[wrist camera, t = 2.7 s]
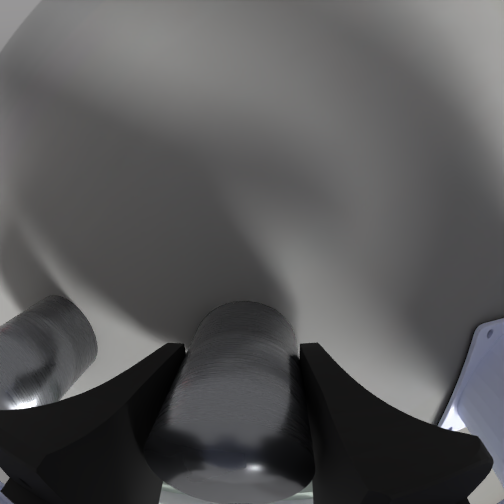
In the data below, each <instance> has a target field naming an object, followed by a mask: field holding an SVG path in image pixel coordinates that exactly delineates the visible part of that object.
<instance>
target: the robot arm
mask: <svg viewBox="0 0 504 504" xmlns="http://www.w3.org/2000/svg"><path fill="white" fill-rule="evenodd" d="M185 355H186V352H185V347H184V344H180V343H167V344H165V345H164V346H162V347H161V348H159V349H158V350H156V351H155V352H153V353H152V354H150V355H149V356H147V357H146V358H144V359H143V360H141V361H140V362H138V363H137V364H135V365H134V366H132V367H131V368H129V369H128V370H126V371H124V372H123V373H121V374H119V375H118V376H116V377H114V378H113V379H111V380H109V381H107V382H105V383H104V384H102V385H100V386H97V387H95V388H93V389H91V390H89V391H86V392H84V393H81V394H79V395H76V396H73V397H70V398H67V399H64V400H61V401H58V402H54V403H50V404H46V405H41V406H36V407H30V408H22V409H9V410H0V467H1V468H2V470H3V471H4V472H5V473H6V474H7V475H8V476H9V477H10V478H9V480H8V481H7V483H6V484H3V483H2V482H1V481H0V504H159V500H160V494H161V489H162V484H163V480H161V479H160V478H159V477H158V476H157V475H156V474H155V473H154V472H153V471H152V470H151V469H150V467H149V466H148V464H147V462H146V460H145V457H144V446H145V443H146V441H147V439H148V436H149V434H150V432H151V430H152V427H153V425H154V423H155V421H156V419H157V416H158V414H159V412H160V410H161V408H162V405H163V403H164V401H165V399H166V397H167V394H168V392H169V390H170V388H171V386H172V384H173V381H174V379H175V377H176V375H177V373H178V371H179V368H180V366H181V364H182V362H183V360H184V358H185ZM299 361H300V367H301V373H302V379H303V385H304V391H305V398H306V404H307V411H308V418H309V424H310V431H311V438H312V445H313V453H314V460H315V468H316V469H315V475H314V477H313V479H312V488H313V504H470V503H469V501H468V499H467V497H468V496H469V495H470V494H471V493H472V492H473V491H474V490H475V489H476V488H477V486H478V485H479V484H480V483H481V482H482V481H483V480H484V479H485V478H486V476H487V475H488V474H489V472H490V471H491V469H493V470H494V472H495V474H496V475H497V477H498V479H499V481H500V482H501V484H502V486H503V488H504V318H502V319H498V320H494V321H491V322H487V323H483V324H481V325H479V326H478V327H477V329H476V330H475V332H474V335H473V339H472V342H471V345H470V349H469V352H468V355H467V358H466V360H465V363H464V366H463V369H462V372H461V374H460V377H459V379H458V382H457V384H456V387H455V389H454V392H453V394H452V396H451V399H450V401H449V403H448V405H447V407H446V410H445V412H444V414H443V416H442V418H441V420H440V422H439V424H438V426H435V425H432V424H429V423H426V422H424V421H421V420H419V419H417V418H414V417H412V416H410V415H408V414H406V413H404V412H402V411H400V410H398V409H396V408H394V407H392V406H391V405H389V404H387V403H386V402H384V401H382V400H381V399H379V398H378V397H376V396H375V395H373V394H372V393H370V392H369V391H368V390H366V389H365V388H364V387H363V386H361V385H360V384H359V383H358V382H356V381H355V380H354V379H353V378H352V377H351V376H350V375H349V374H348V373H346V372H345V371H344V370H343V369H342V368H341V367H340V366H339V365H338V364H337V363H336V362H335V361H334V360H333V359H332V357H331V356H330V355H329V354H328V353H327V352H326V351H325V350H324V349H323V348H322V346H321V345H320V344H319V343H303V344H300V359H299ZM465 427H467V429H468V430H469V432H470V433H471V435H470V434H465V433H461V432H456V431H457V430H460V429H462V428H465ZM497 504H504V499H503V500H502V501H500V502H499V503H497Z"/></svg>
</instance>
